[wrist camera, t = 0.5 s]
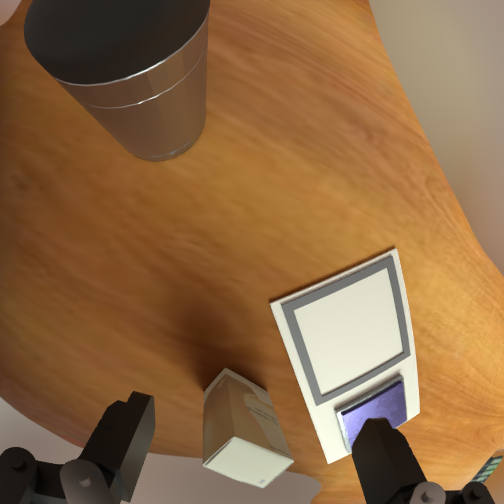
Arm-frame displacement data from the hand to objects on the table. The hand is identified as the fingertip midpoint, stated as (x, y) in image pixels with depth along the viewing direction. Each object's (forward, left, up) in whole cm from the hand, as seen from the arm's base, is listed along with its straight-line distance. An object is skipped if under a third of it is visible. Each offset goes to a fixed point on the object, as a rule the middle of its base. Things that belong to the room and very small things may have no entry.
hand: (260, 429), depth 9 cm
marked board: (+16, +12, -20) cm, 28 cm away
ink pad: (+23, +12, -20) cm, 33 cm away
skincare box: (+11, -3, -21) cm, 23 cm away
